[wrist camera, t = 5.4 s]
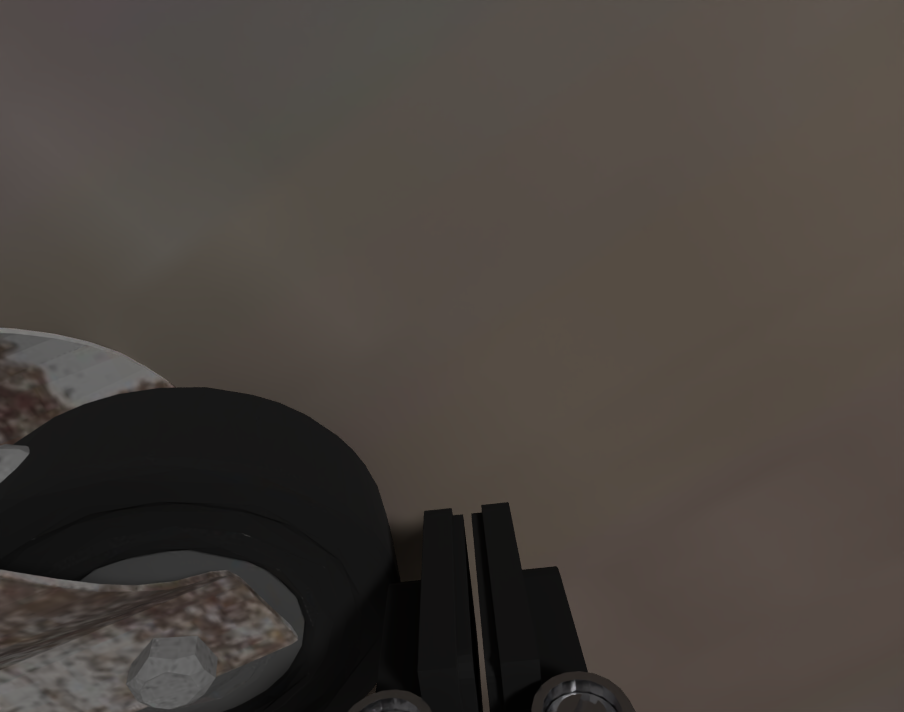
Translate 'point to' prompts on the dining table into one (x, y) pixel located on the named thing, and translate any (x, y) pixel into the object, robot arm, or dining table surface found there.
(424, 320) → the dining table surface
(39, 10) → the dining table surface
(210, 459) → the caster wheel
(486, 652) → the robot arm
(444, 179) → the dining table surface
